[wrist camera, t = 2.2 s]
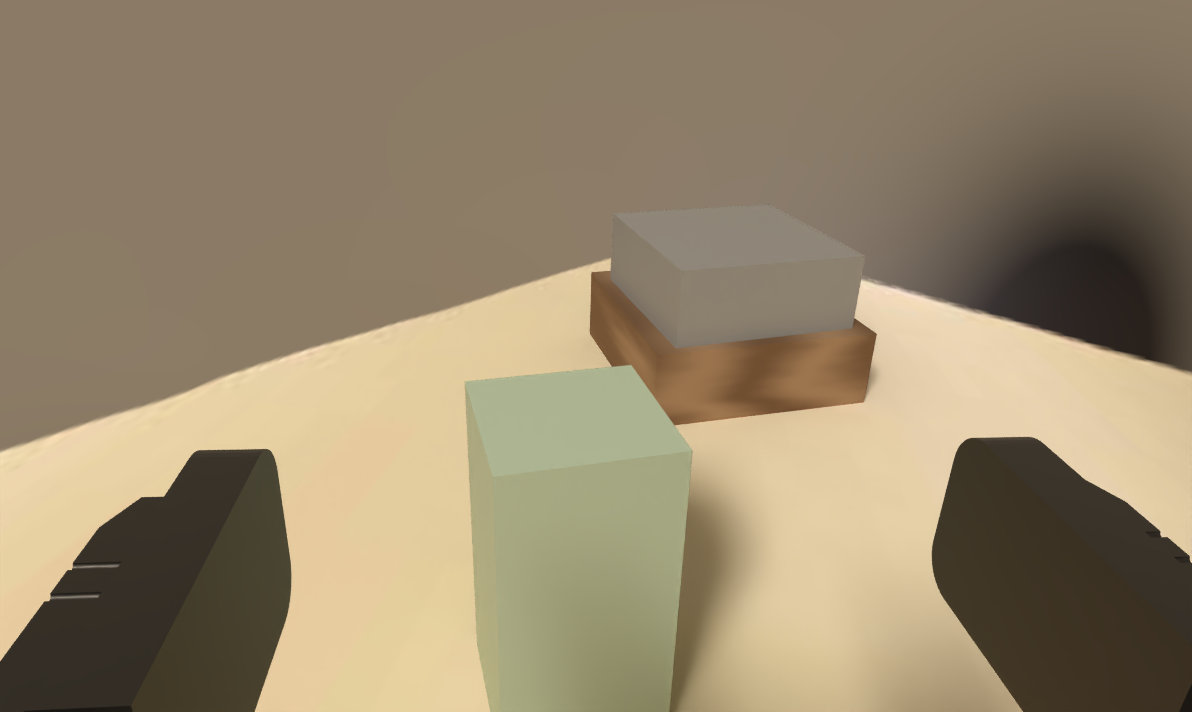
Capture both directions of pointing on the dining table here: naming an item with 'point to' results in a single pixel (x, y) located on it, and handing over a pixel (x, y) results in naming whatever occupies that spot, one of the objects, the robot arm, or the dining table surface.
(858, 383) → the walnut base block
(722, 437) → the dining table surface
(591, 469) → the sage pillar block
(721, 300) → the slate grey block
